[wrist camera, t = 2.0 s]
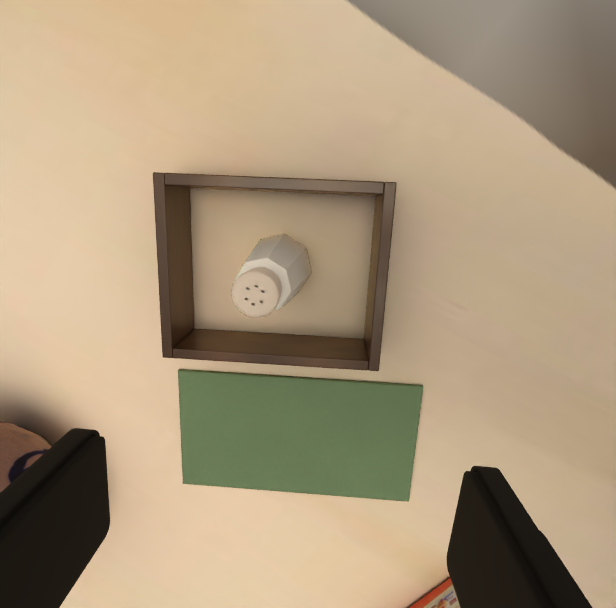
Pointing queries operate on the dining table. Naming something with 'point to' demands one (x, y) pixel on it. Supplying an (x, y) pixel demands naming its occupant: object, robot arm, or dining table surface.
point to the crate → (251, 345)
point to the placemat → (298, 434)
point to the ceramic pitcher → (18, 451)
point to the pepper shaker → (270, 276)
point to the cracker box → (439, 597)
